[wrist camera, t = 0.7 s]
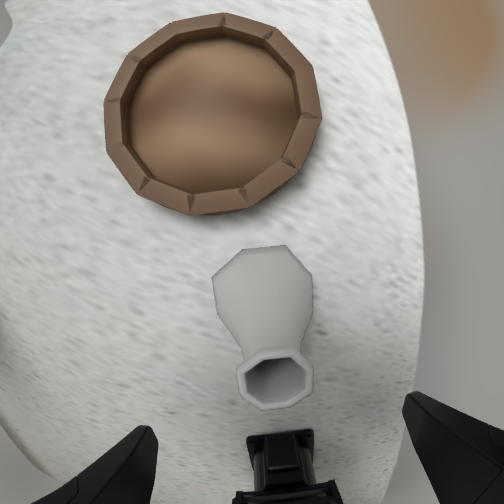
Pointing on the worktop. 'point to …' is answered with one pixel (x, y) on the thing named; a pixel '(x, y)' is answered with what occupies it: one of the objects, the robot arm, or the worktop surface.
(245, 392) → the flask
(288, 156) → the walnut collar
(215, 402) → the worktop surface
